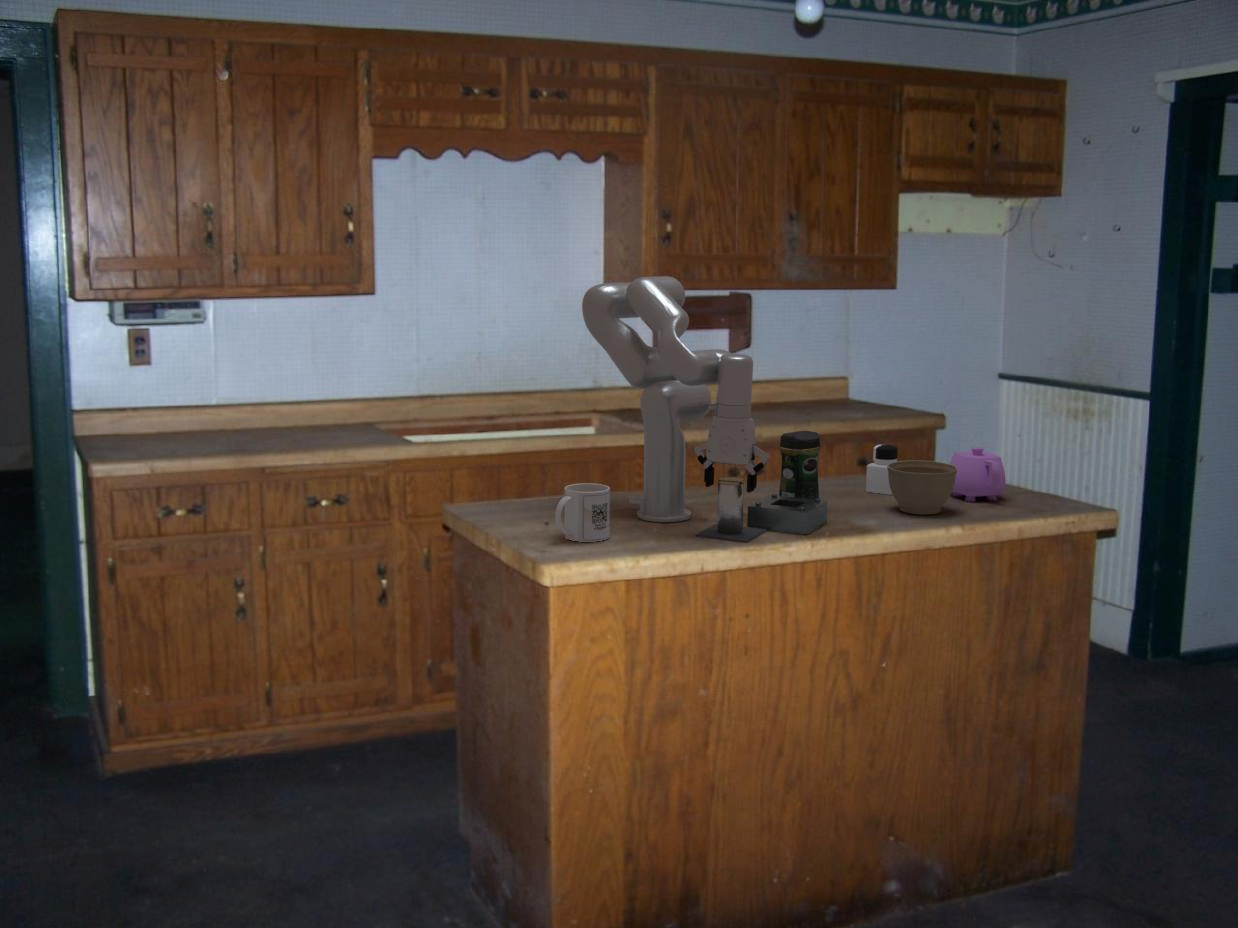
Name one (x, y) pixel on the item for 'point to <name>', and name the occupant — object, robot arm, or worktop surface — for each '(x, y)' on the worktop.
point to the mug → (585, 512)
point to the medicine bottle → (880, 469)
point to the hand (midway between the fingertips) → (729, 488)
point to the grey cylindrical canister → (730, 506)
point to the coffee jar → (799, 464)
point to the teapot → (978, 474)
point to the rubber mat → (743, 537)
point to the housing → (787, 514)
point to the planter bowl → (921, 485)
